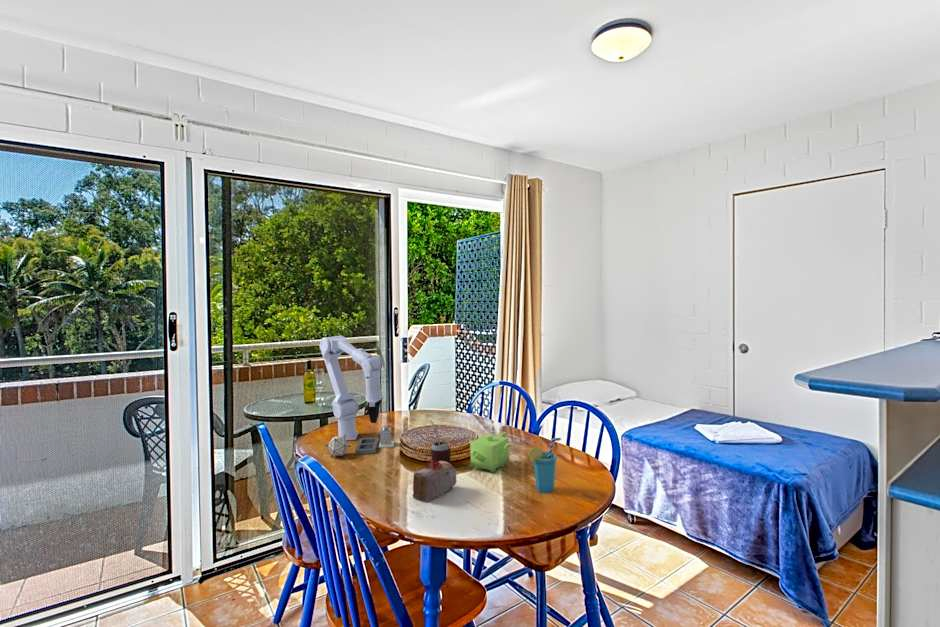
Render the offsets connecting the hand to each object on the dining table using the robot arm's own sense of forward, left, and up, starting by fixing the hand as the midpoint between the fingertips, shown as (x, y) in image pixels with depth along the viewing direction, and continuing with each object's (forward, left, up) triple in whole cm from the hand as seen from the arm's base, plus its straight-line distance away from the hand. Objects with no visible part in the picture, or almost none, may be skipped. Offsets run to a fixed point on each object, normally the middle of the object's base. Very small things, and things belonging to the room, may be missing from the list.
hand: (374, 420), depth 200 cm
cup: (+54, +57, -10) cm, 79 cm away
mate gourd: (+28, +25, -10) cm, 39 cm away
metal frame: (+3, -3, -10) cm, 11 cm away
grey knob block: (+1, +4, -10) cm, 11 cm away
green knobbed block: (+33, +43, -10) cm, 55 cm away
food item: (+51, +22, -10) cm, 57 cm away
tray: (+1, +4, -10) cm, 11 cm away
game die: (+11, -13, -10) cm, 20 cm away
